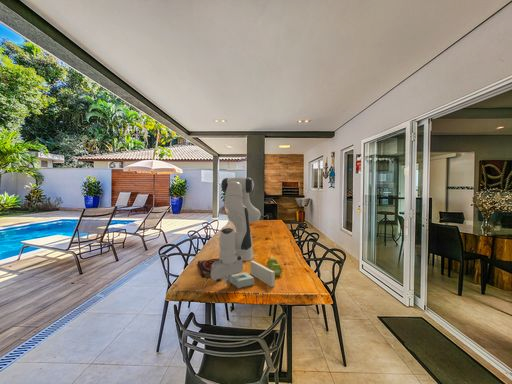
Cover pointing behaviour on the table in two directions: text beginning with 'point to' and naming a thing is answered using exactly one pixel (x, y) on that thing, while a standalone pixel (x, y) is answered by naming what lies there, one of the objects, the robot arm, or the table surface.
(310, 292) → the table surface
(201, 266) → the book
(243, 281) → the sliding block
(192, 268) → the table surface
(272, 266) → the dumbbell
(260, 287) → the table surface
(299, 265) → the table surface
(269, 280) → the wall
